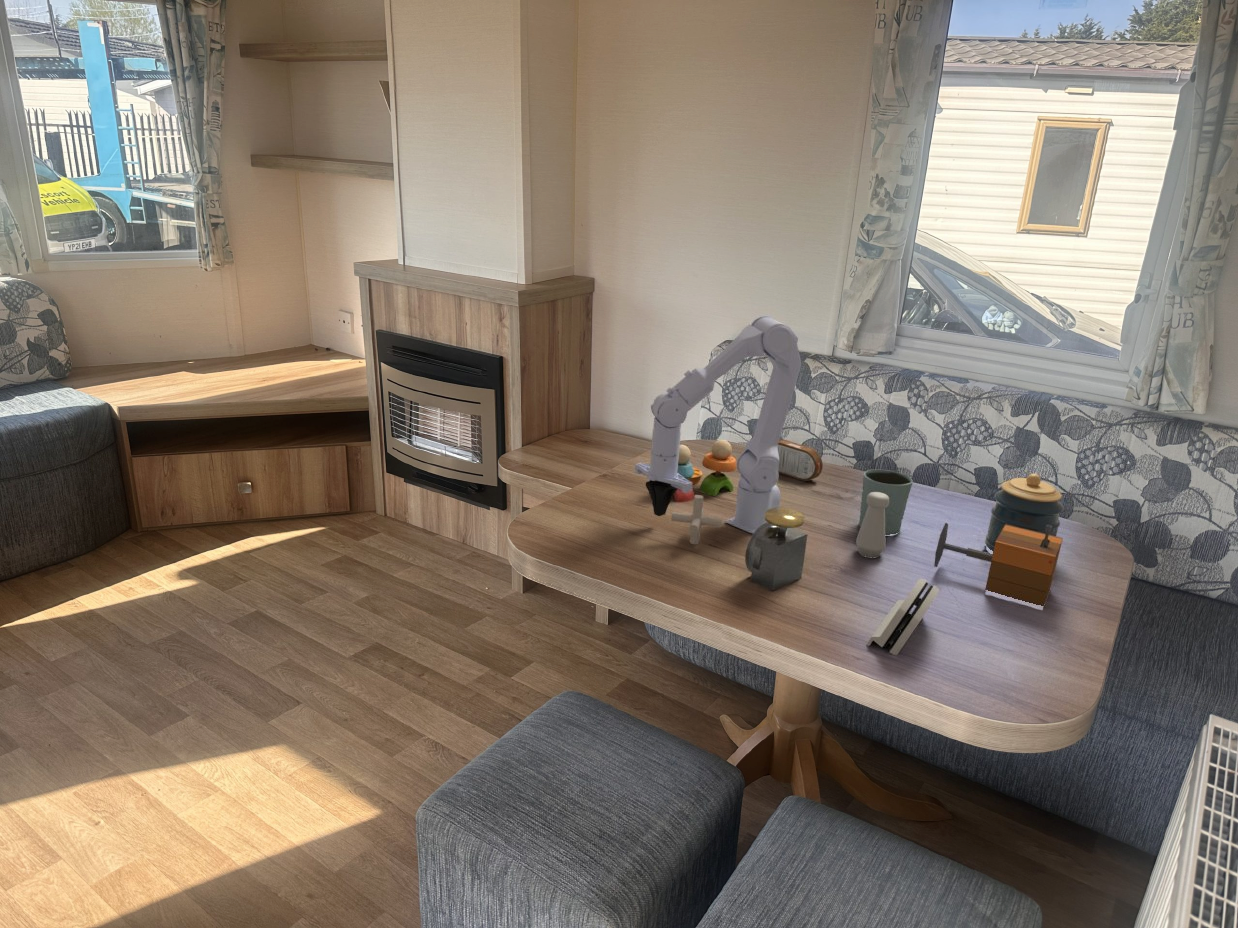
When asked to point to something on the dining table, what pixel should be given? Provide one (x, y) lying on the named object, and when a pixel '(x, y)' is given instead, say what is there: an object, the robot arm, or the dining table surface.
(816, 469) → the tin
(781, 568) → the kitchen scale
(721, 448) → the colourful wooden stacking toy
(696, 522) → the pipe connector
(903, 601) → the beige slotted block
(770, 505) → the robot arm
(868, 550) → the salt shaker
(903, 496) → the green cup
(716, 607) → the dining table surface
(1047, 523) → the canister
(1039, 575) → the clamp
